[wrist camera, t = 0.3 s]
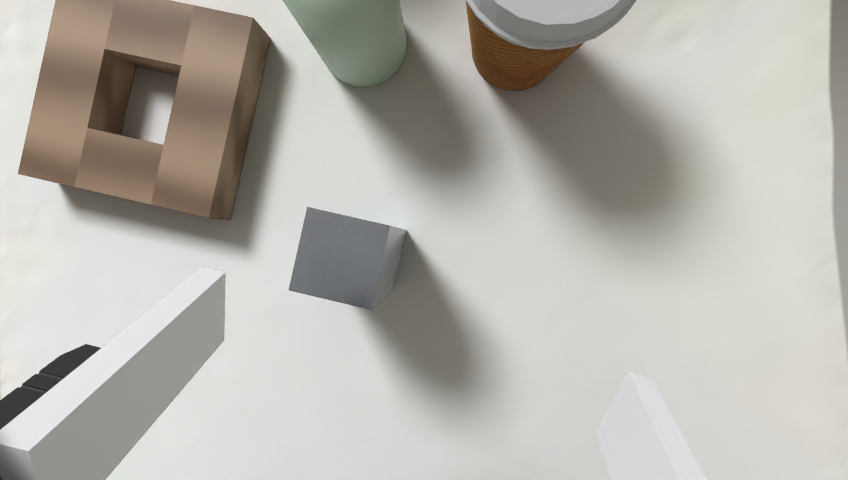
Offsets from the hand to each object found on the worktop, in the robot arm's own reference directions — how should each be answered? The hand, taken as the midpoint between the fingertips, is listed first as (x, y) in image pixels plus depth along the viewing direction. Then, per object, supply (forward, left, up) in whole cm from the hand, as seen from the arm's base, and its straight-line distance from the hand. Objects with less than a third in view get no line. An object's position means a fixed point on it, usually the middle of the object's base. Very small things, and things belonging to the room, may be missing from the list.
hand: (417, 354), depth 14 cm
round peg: (+17, +9, -18) cm, 26 cm away
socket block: (+9, +23, -18) cm, 30 cm away
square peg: (+2, +5, -18) cm, 19 cm away
